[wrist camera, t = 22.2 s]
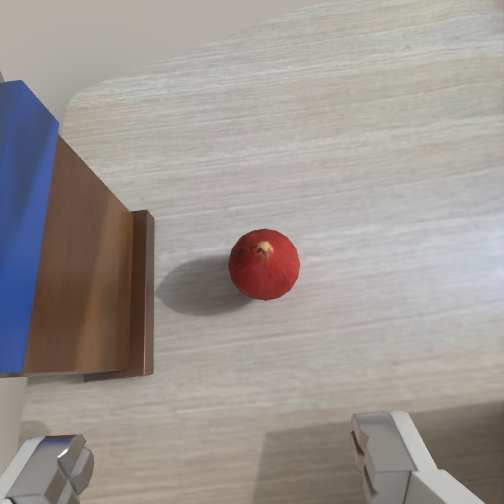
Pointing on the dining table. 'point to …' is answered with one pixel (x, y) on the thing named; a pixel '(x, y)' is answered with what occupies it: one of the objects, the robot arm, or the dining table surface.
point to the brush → (67, 257)
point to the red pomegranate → (264, 264)
